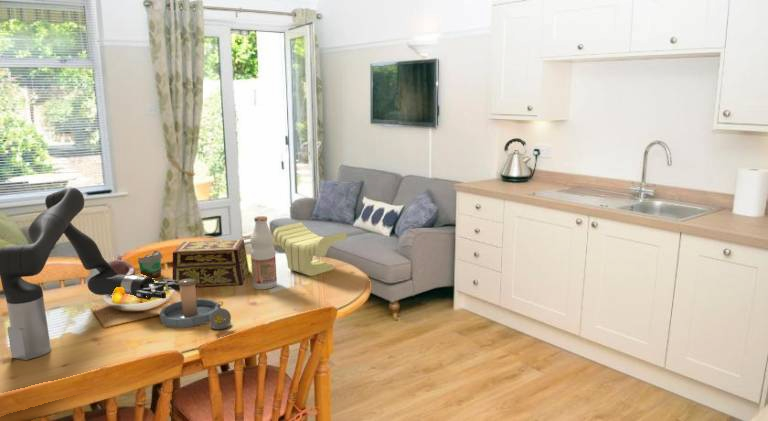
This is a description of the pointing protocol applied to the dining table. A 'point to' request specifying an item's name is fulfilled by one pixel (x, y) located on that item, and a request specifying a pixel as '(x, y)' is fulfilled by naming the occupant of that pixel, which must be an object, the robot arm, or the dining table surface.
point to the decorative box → (211, 263)
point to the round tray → (174, 317)
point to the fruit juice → (263, 255)
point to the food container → (151, 265)
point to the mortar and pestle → (122, 267)
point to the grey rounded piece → (220, 318)
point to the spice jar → (188, 297)
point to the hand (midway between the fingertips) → (174, 291)
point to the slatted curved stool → (304, 248)
